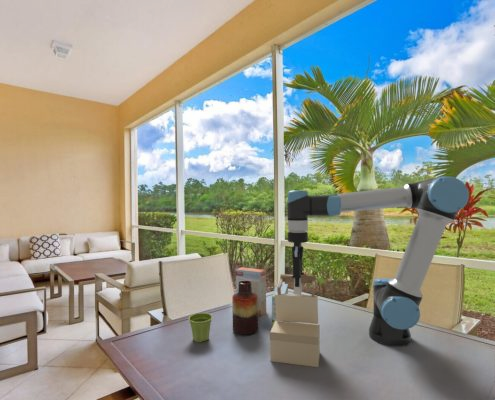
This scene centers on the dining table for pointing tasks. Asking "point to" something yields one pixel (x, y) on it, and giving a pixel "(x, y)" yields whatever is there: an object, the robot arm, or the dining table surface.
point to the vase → (245, 310)
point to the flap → (297, 302)
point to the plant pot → (200, 326)
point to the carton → (295, 343)
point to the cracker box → (254, 284)
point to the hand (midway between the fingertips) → (297, 293)
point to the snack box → (283, 291)
